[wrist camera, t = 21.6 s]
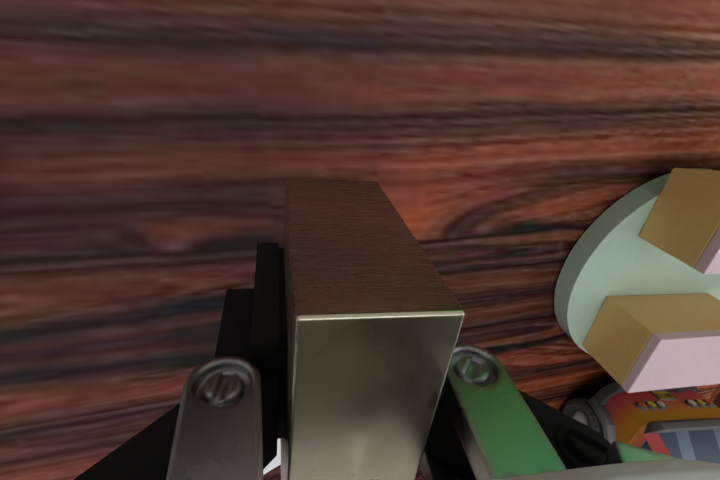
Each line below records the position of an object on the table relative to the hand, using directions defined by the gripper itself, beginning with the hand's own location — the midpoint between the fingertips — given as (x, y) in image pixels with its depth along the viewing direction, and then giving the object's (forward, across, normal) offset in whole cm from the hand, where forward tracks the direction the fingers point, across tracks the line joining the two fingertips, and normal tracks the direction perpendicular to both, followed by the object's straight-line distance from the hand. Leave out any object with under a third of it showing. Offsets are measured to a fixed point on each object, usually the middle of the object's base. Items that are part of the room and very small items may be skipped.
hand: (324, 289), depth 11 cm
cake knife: (0, 0, +7) cm, 7 cm away
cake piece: (+8, -25, +9) cm, 28 cm away
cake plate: (+10, -25, +6) cm, 28 cm away
